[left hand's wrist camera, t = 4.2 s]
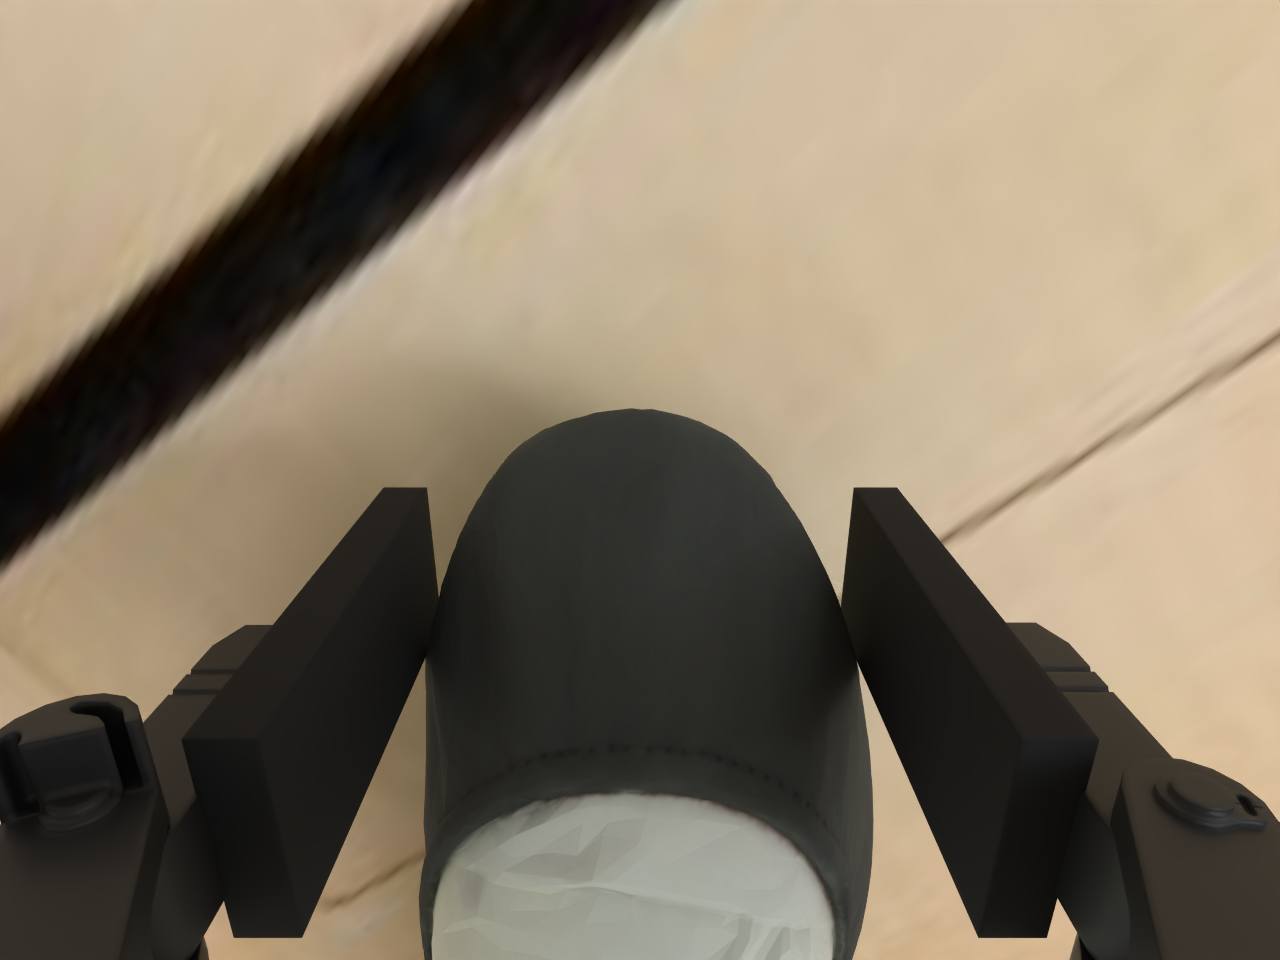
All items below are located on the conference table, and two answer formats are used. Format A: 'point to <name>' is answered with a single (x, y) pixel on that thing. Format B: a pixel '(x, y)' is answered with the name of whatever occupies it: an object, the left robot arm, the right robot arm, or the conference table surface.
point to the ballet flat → (641, 713)
